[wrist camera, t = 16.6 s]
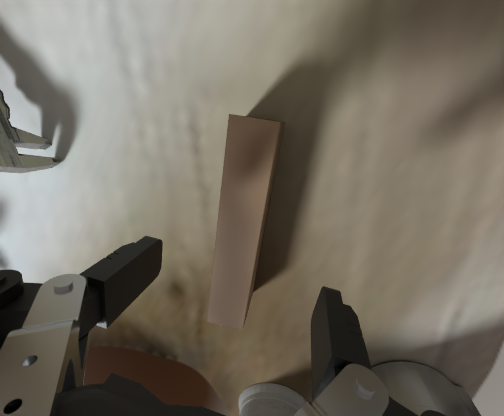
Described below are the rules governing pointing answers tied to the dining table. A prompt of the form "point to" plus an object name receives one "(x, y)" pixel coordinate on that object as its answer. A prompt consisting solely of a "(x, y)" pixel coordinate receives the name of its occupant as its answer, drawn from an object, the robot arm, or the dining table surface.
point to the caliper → (8, 138)
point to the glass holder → (269, 400)
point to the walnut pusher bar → (242, 215)
